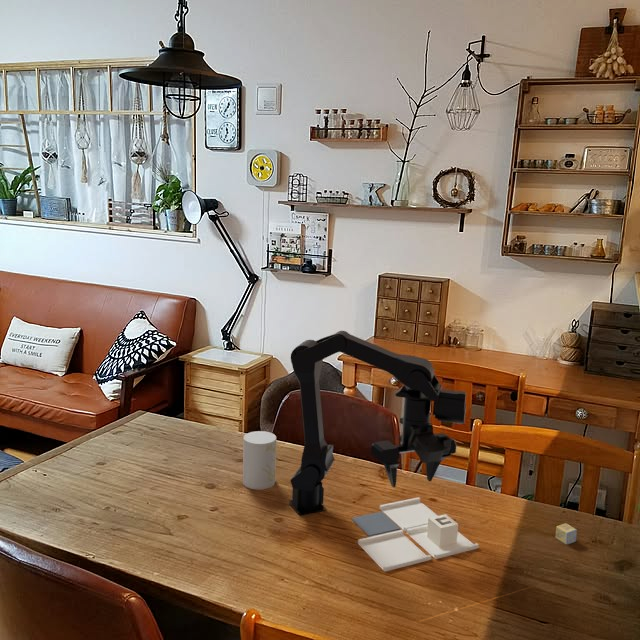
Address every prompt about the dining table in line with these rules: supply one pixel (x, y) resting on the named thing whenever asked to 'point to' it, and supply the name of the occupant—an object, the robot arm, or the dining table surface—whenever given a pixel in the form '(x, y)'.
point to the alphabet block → (566, 533)
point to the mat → (375, 523)
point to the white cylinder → (259, 460)
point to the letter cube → (442, 530)
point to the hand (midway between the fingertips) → (411, 483)
